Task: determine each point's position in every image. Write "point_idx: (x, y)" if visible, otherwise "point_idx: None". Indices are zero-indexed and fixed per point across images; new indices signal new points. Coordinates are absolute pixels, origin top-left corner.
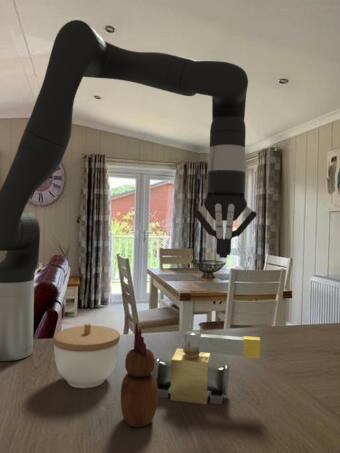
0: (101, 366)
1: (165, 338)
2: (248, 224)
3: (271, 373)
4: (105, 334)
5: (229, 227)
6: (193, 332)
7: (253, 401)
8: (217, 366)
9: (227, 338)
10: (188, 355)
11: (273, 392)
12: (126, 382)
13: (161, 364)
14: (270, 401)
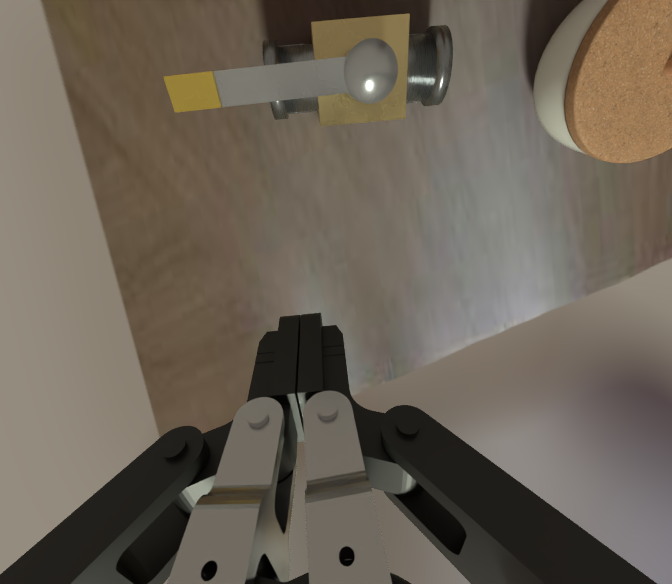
0: (578, 7)
1: (438, 331)
2: (25, 557)
3: (221, 237)
4: (619, 73)
5: (235, 491)
6: (369, 87)
7: None
8: None
9: (262, 70)
10: None
11: (198, 148)
12: None
13: (431, 51)
14: None
